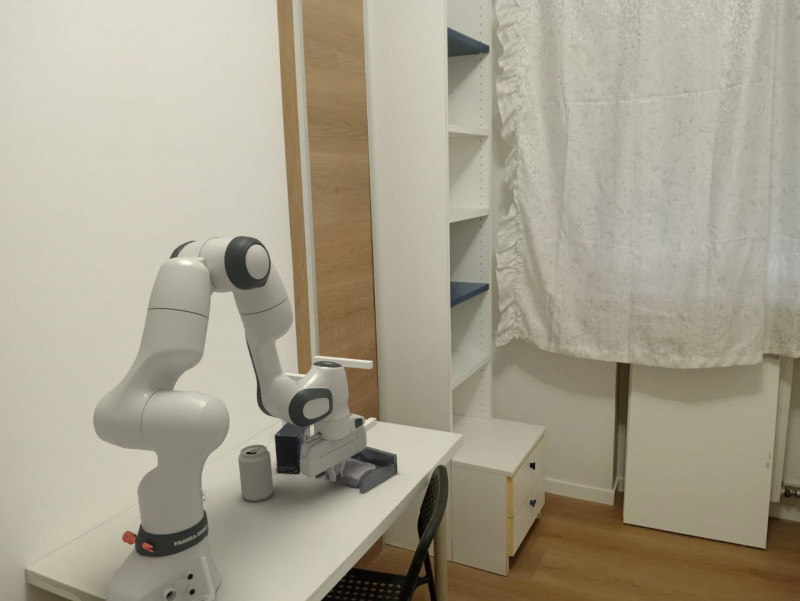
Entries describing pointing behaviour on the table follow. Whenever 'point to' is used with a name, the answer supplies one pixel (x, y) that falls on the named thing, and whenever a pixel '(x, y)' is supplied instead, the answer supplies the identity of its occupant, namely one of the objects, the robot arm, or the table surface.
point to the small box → (290, 447)
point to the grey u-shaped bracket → (383, 463)
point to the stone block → (354, 472)
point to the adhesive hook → (203, 494)
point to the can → (255, 472)
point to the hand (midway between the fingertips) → (336, 479)
